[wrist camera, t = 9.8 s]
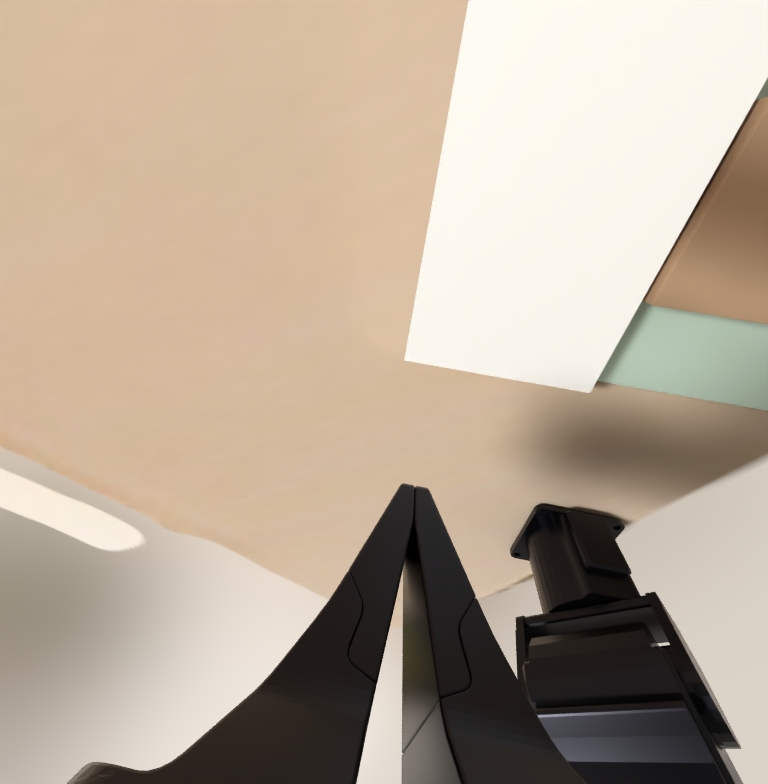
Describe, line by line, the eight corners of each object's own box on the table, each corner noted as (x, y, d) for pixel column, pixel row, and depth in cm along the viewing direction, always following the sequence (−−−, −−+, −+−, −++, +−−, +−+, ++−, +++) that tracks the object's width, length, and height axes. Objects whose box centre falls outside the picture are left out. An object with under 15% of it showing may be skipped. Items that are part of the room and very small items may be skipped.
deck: (576, 375, 19) (589, 393, 17) (406, 345, 19) (404, 360, 18) (801, -61, 10) (873, -112, 8) (486, -95, 11) (495, -149, 9)
